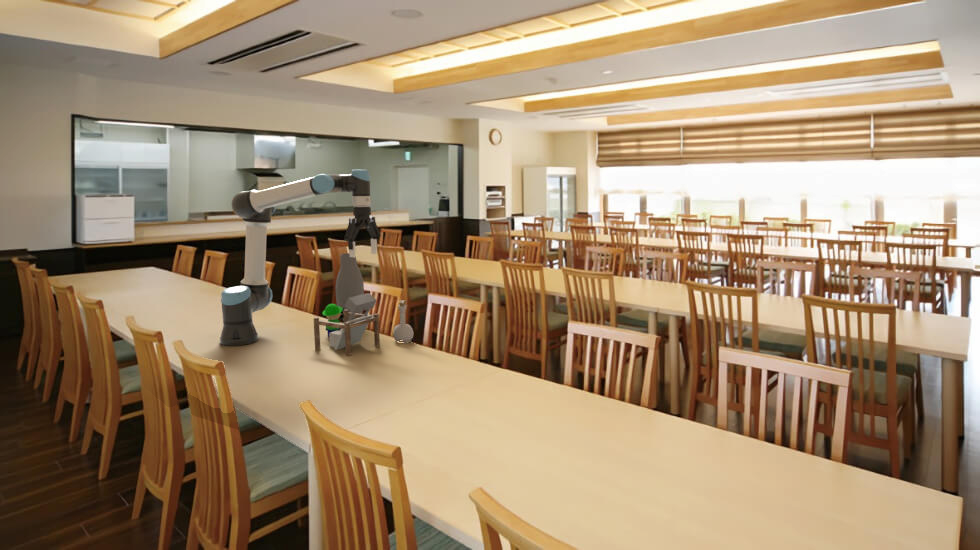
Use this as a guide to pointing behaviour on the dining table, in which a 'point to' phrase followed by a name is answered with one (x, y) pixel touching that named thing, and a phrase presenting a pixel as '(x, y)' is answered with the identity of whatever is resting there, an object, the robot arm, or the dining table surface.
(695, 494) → the dining table surface
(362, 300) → the grey faceted block
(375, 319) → the frame
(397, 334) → the potion bottle
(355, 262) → the vase
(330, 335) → the stone
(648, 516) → the dining table surface
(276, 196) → the robot arm
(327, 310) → the toy
